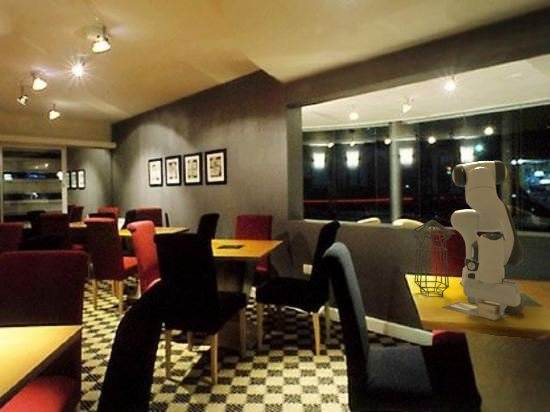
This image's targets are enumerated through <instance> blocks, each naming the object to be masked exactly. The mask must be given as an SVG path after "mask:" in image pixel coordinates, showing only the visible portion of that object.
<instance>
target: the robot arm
mask: <svg viewBox="0 0 550 412" xmlns="http://www.w3.org/2000/svg"><path fill="white" fill-rule="evenodd" d="M507 176H508V169H507V167H506V165H505V163H504V162H503V161H500V160H493V161H491V160H490V161H489V160H487V161H486V160H484V161H483V160H482V161H475V162H469V163H461V164H456V165H455V166H454V167H453V170H452V173H451V179H452V181H453V183H454V185H455V186H457V187H461V188H465V189H464V190H465V201H466V204H467V205H468V206H469V207H470V208H471V209H460V210H459V209H458V210H455V211H454V212H453V213H452V214H451V216H450V223H451V225H452V227H453V228H454V229H455V230H456V231H457V232H458V233H459V234H460V235H461V236H462V238H463V240H464V243H465V257H464V265H465V266H464V267H463V268H462V274H461V275H462V276H461V280H459V284H461V286H462V287H463V294H464V296H466V297H468V296H469V297H473V298H475V301H476V303H477V304H476V305H477V307H478V310H479V303H481V302H480V301H481V299H482V300H485V301H490V302H495V303H499V304H500V306H501V309H499V310H497V312H498V313H497V315H501V316H502V315H503V314H504V313H505V311H504V310H505V308H506V307H507V305H509V306H513V307H515V306H518V305H519V304H520V299H521V293H520V291H521V285H520V284H519V282H517V281H516V280H514V279H512V280H511V279H508V278H505V266H510V267H516V266H518V265H519V264H520V263H522V262H523V260H524V257H525V255H524V253H525V252H524V248H523V246H522V243H521V240H520V239H519V236H518V234H517V233H518V232H517V229H516V227H515V223H514V221H513V217H512V214H511V211H510V209H509V207H508V205H507V203H505V202H503V201H502V200H501V199H500V198H499V196H498V193H497V185H500V184H503V183H504V182H505V181H506V179H507ZM478 232H485V233H482V234H481V235H480V236H479V235H478ZM498 232H502V234H503V236H502V235H501V234H498Z"/></svg>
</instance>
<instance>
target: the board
mask: <svg viewBox="0 0 550 412" xmlns="http://www.w3.org/2000/svg"><path fill="white" fill-rule="evenodd" d="M441 308H443V309H447V310H451V311H453V312H458V313H462V314H465V315H468V316H471V317H476V318H480V319H484V320H488V321H492V322H495V323H496V322H498V321H501V320H503V319H504V320H505V319H507V318H509V317H512V316H513V315H514V314H509V313H506V312H504V314H503V315H502V318H499V319H496V320H491V319H487V318H484V317H480V316H478V305H477V306H476V305H474V304H468V303H465V302H461V301H460V302H456V303H452V304H449V305H448V304H447V305H445V306H441Z"/></svg>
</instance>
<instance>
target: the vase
mask: <svg viewBox="0 0 550 412" xmlns="http://www.w3.org/2000/svg"><path fill="white" fill-rule="evenodd" d="M523 311H524V303H523V301H522V299H521V298H520V304H519V305H518V306H515V307H513V306H509V305H507V307H506V308H505V310H504V313H506V314H510V315H521V314H522V313H523Z"/></svg>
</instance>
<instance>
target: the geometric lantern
mask: <svg viewBox="0 0 550 412" xmlns="http://www.w3.org/2000/svg"><path fill="white" fill-rule="evenodd" d="M429 228H430V231H428V230H429ZM433 229H434V230H433ZM434 232H435V233H434ZM439 232H442V233H441V234H440V233H439ZM411 233H412V235H413V237H414V238H415V240H416V241H415V242H416V243H419V246H418V244H416V254H415V270H414V281H413V282H414V284H415V285H417V287H418V288H419V292H420V294H422V295H423V296H425V297H428V298H429V297H432V298H433V297H434V298H435V297H436V298H437V297H438V298H441V297H444V292H445V291H446V290H448V288H450V285H449V283H450V280H449V264H448V263H449V261H448V250H449V249H447V242H446V241H449V240H450V238H451V236H452V235H456V233H455V232H453V231H452V230H450V229H448V227H446V226H444V225H442V224H441V223H439V222H438V221H436V219H435V220H434V219H431V220H430V219H429V220H428V221H427V222H424V223H423V224H421V225H419V226H417V227H416V228H414V229H411ZM428 235H430V236H428ZM437 235H438V237H439V238H438V239H435V238H434V236H437ZM441 236H443V237H441ZM420 237H423V239H422V241H421V240H420ZM425 239H429V240H430V242H428V243H429V244H428V245H427V246H425V247H424V246H423V243H424V242H425ZM443 239H444V240H443ZM442 240H443V242H442ZM437 241H438V242H440V244H441V245H440V246H437V245H436V243H435V242H437ZM431 243H433V244H434V245H435V248H436V249H427V248H429V247H430V244H431ZM444 244H445V245H444ZM427 251H430V252H431V251H432V252H433V251H435V252H436V256H435V257H436V258H435V260H436V261H435V280H427V275H428V274H427ZM438 253H439V254H438ZM442 254H443V264H442ZM438 255H439V261H440V262H439V263H440V281H438V277H437V276H438ZM423 258H424V259H423ZM420 259H421V261H420ZM423 260H424V261H423ZM423 262H424V270H425V271H424V274H425V275H424V277H425V280H422V279H423V278H422V275H423ZM442 265H443V266H442ZM442 267H443V268H444V282H443V271H442V270H443V268H442ZM419 272H420V273H419ZM419 274H420V278H419ZM422 283H425V286H422ZM428 283H435V284H434V286H427V285H428ZM437 283H439V284H438V285H437ZM441 285H444V286H441ZM440 286H441V287H440ZM425 289H426V290H425ZM429 289H433V290H429ZM438 290H439V291H438ZM430 293H438V294H439V295H430ZM427 294H428V295H427Z"/></svg>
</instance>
